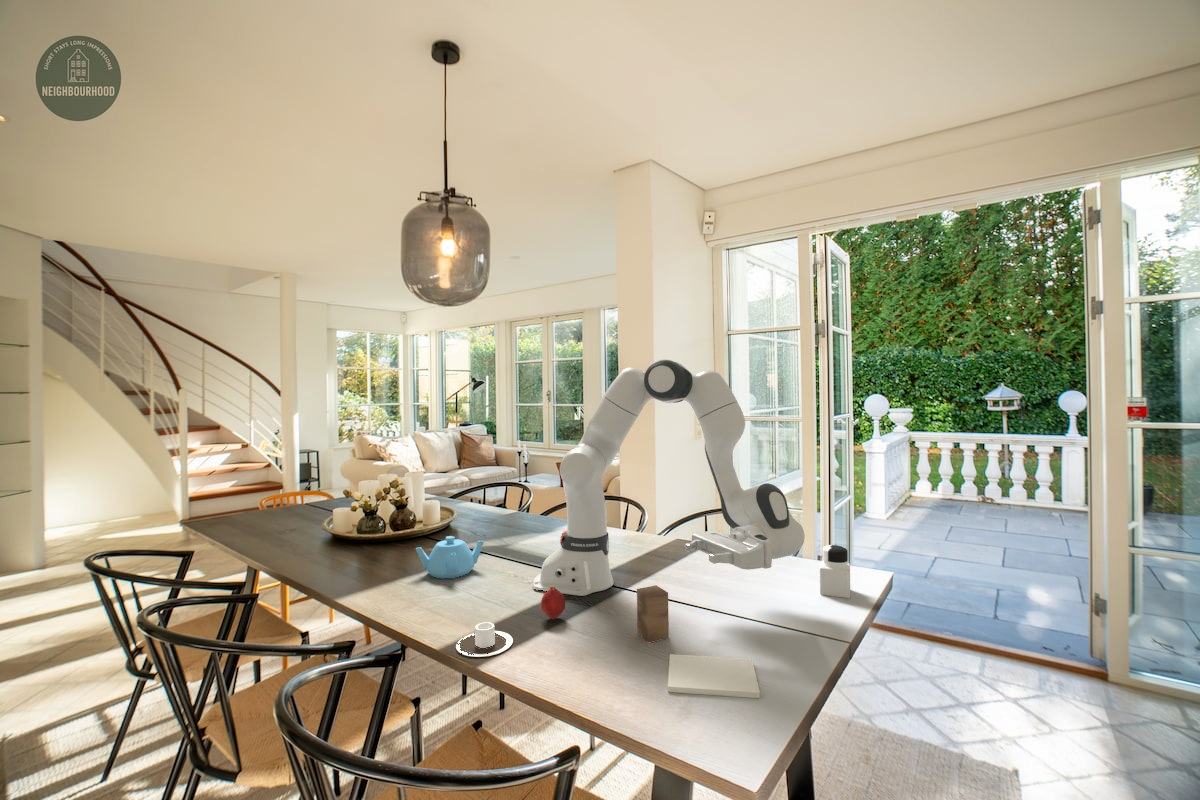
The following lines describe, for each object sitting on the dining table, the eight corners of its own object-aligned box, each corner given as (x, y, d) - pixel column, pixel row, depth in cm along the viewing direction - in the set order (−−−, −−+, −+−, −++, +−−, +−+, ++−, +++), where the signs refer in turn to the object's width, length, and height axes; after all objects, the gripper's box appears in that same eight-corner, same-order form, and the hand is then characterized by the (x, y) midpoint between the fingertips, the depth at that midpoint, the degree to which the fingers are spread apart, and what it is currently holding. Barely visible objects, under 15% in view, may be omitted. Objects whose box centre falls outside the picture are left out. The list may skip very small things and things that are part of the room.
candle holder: (501, 662, 110) (501, 641, 110) (446, 658, 112) (445, 637, 112) (520, 635, 122) (520, 616, 122) (469, 632, 124) (469, 613, 124)
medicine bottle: (850, 589, 145) (849, 544, 145) (850, 599, 139) (849, 552, 138) (821, 585, 148) (821, 541, 148) (820, 595, 142) (819, 549, 141)
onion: (541, 614, 132) (540, 581, 132) (565, 613, 133) (564, 580, 133) (541, 624, 127) (540, 590, 126) (565, 623, 127) (565, 589, 127)
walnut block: (637, 633, 121) (636, 589, 121) (656, 629, 123) (656, 585, 123) (648, 642, 117) (648, 596, 117) (668, 638, 119) (668, 592, 119)
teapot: (487, 568, 168) (487, 533, 168) (454, 584, 155) (453, 546, 154) (449, 562, 175) (448, 528, 175) (414, 576, 161) (413, 540, 161)
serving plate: (667, 691, 98) (667, 686, 98) (669, 659, 110) (669, 654, 110) (760, 698, 95) (759, 692, 95) (751, 663, 107) (751, 658, 107)
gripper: (718, 522, 140) (673, 529, 134) (775, 541, 121) (725, 551, 116) (719, 547, 140) (673, 555, 134) (776, 570, 121) (726, 580, 116)
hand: (698, 553), depth 125 cm, fingers open, 8 cm apart
